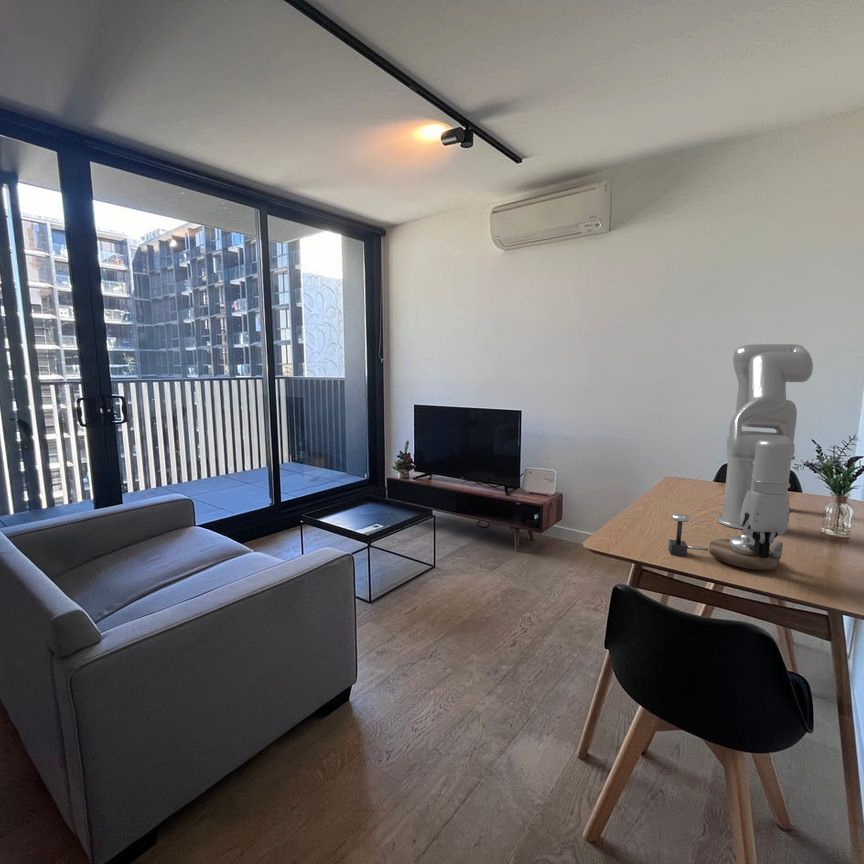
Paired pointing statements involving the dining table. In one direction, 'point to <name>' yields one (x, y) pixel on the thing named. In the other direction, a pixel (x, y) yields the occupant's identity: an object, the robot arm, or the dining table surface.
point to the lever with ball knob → (677, 545)
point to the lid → (742, 545)
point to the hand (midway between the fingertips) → (760, 555)
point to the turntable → (726, 555)
